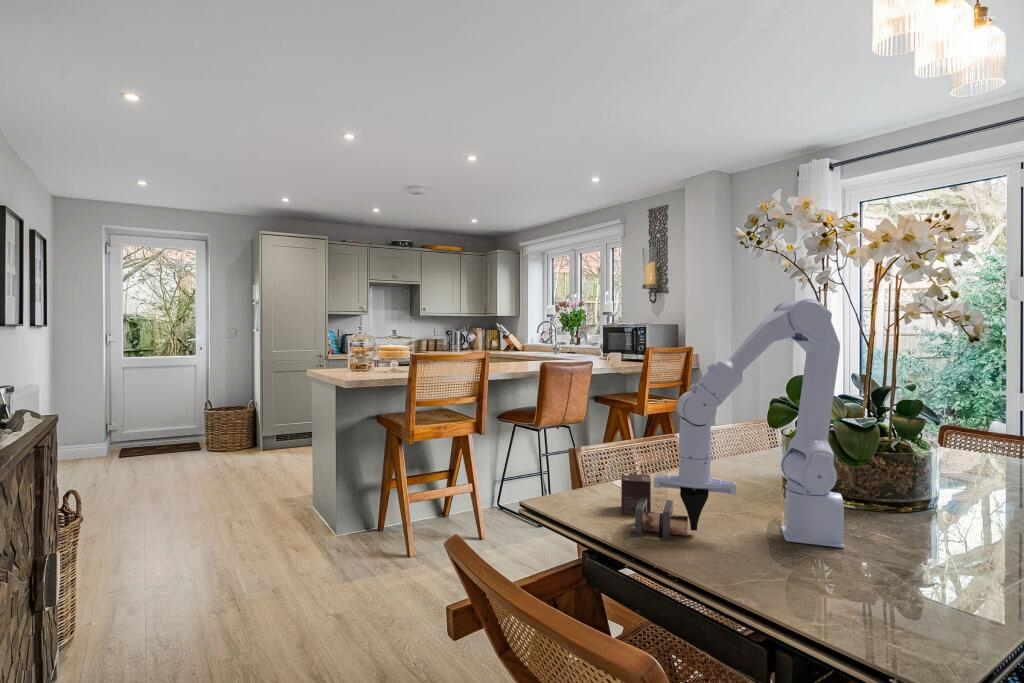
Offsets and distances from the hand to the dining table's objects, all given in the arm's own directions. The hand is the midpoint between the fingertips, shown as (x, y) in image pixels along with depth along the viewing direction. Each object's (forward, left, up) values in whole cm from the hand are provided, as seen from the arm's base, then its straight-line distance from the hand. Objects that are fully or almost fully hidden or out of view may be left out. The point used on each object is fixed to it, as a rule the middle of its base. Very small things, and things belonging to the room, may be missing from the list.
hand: (693, 528), depth 109 cm
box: (+12, -11, -2) cm, 16 cm away
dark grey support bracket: (+5, 0, -1) cm, 5 cm away
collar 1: (+10, 0, -1) cm, 10 cm away
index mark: (+7, +5, -1) cm, 9 cm away
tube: (+6, 0, -1) cm, 6 cm away
